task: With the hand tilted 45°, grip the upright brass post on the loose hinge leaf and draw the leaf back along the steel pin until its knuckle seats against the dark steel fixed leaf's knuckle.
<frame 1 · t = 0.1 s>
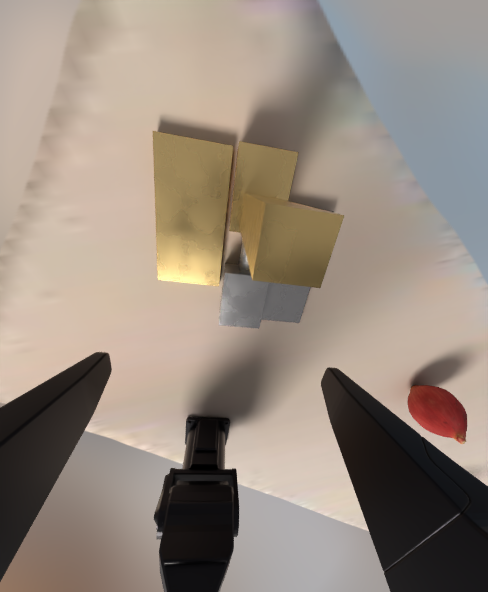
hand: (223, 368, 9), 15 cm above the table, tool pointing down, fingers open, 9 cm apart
onion: (413, 385, 33), on the table
fixed leaf: (238, 312, 25), on the table
loose leaf: (212, 239, 14), point 7 cm above the table, slide at 3.5 cm
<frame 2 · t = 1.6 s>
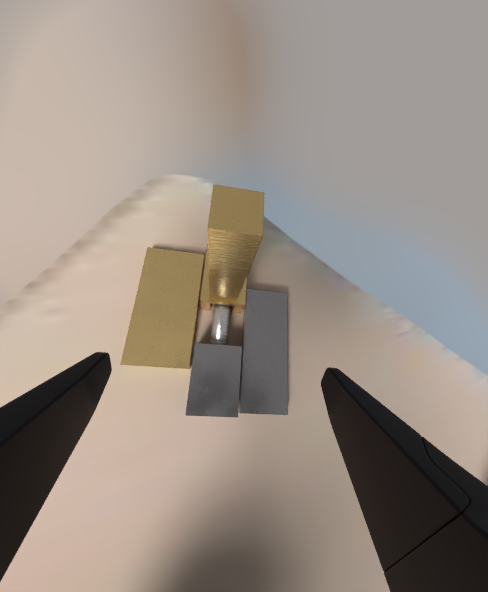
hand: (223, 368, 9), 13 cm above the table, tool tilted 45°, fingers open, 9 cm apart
fixed leaf: (211, 409, 20), on the table
loose leaf: (182, 284, 16), point 7 cm above the table, slide at 3.5 cm
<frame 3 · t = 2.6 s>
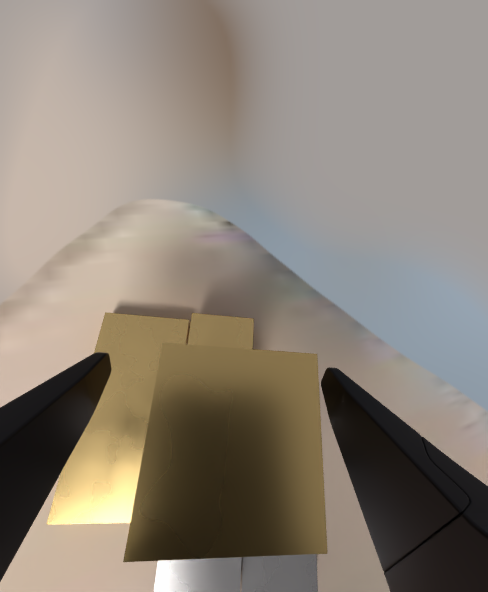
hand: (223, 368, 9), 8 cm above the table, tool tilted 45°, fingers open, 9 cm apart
fixed leaf: (196, 586, 13), on the table
loose leaf: (137, 430, 9), point 7 cm above the table, slide at 3.5 cm
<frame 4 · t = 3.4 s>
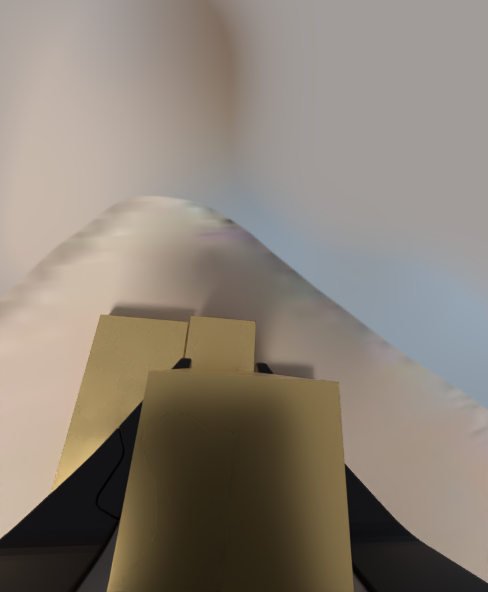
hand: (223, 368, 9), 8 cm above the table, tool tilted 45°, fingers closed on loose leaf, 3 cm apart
loose leaf: (131, 445, 8), point 7 cm above the table, slide at 3.5 cm, touching gripper
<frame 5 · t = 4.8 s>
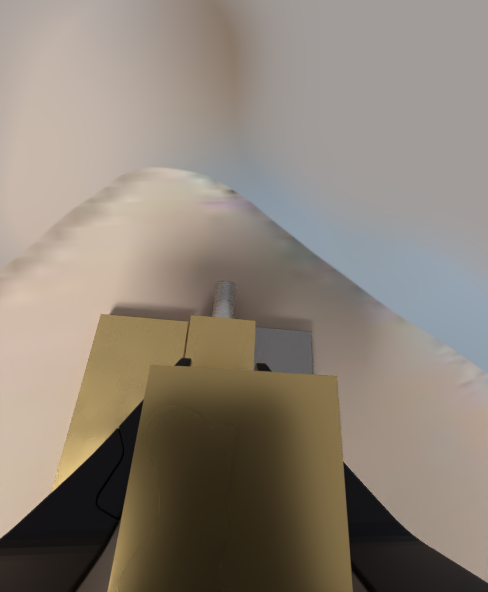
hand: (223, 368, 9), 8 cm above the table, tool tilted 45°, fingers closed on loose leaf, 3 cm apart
fixed leaf: (203, 520, 13), on the table
loose leaf: (131, 443, 8), point 7 cm above the table, slide at 0.0 cm, touching gripper
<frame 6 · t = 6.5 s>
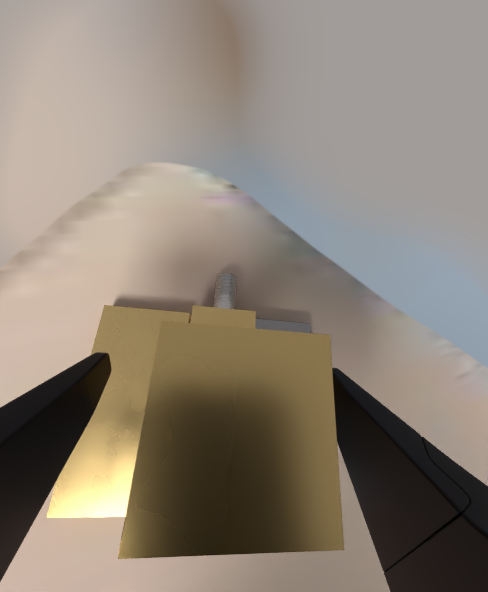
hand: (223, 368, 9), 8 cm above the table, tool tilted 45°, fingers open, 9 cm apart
fixed leaf: (205, 504, 14), on the table
loose leaf: (136, 423, 9), point 7 cm above the table, slide at 0.0 cm
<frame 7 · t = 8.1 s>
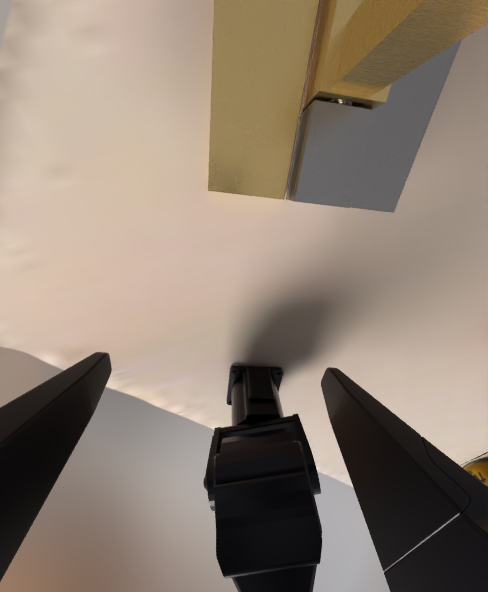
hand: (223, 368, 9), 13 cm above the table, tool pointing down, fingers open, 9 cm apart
condiment: (479, 463, 42), on the table
fixed leaf: (309, 202, 18), on the table
loose leaf: (326, 52, 9), point 7 cm above the table, slide at 0.0 cm
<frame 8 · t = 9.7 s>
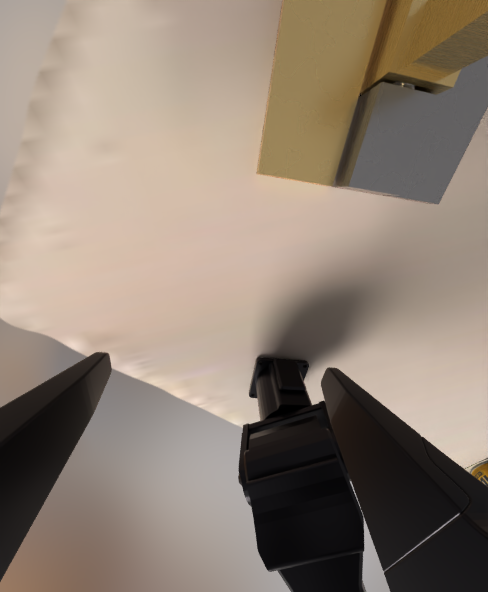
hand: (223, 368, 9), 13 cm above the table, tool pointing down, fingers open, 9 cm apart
fixed leaf: (355, 190, 18), on the table
loose leaf: (424, 23, 9), point 7 cm above the table, slide at 0.0 cm
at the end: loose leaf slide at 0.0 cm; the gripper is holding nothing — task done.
